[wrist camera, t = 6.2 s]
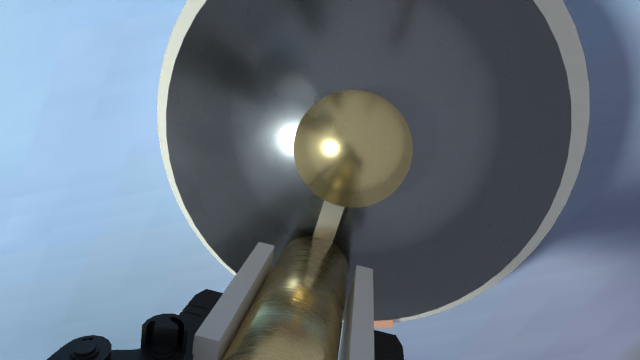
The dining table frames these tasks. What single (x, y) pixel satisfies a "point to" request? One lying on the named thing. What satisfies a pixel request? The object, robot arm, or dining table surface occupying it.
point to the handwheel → (365, 152)
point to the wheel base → (578, 82)
